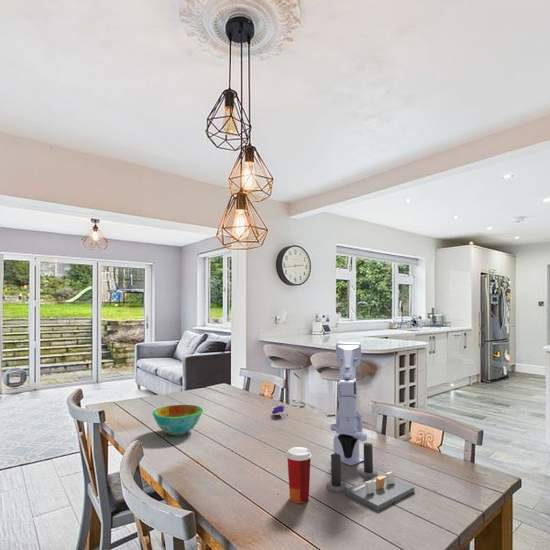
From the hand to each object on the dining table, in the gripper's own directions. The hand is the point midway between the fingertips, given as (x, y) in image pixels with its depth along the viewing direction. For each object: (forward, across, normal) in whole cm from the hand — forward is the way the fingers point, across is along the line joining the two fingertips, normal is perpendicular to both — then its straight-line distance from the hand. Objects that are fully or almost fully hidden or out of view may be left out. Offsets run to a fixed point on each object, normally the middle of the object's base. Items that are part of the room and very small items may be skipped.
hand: (348, 457), depth 131 cm
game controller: (+7, -71, +27) cm, 77 cm away
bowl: (+7, -79, -26) cm, 84 cm away
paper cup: (+7, 0, -22) cm, 23 cm away
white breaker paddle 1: (+5, +13, -5) cm, 15 cm away
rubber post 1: (+7, +2, -8) cm, 11 cm away
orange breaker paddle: (+5, +13, 0) cm, 14 cm away
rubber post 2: (+7, +2, +8) cm, 11 cm away
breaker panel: (+7, +13, 0) cm, 15 cm away
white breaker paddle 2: (+5, +13, +5) cm, 15 cm away
